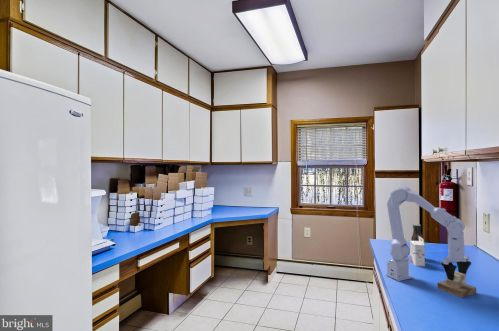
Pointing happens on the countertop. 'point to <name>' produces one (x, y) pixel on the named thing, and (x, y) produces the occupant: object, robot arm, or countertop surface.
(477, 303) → the countertop surface
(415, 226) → the sauce bottle
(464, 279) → the maple cube
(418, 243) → the ink cartridge box
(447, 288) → the walnut block
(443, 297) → the countertop surface
